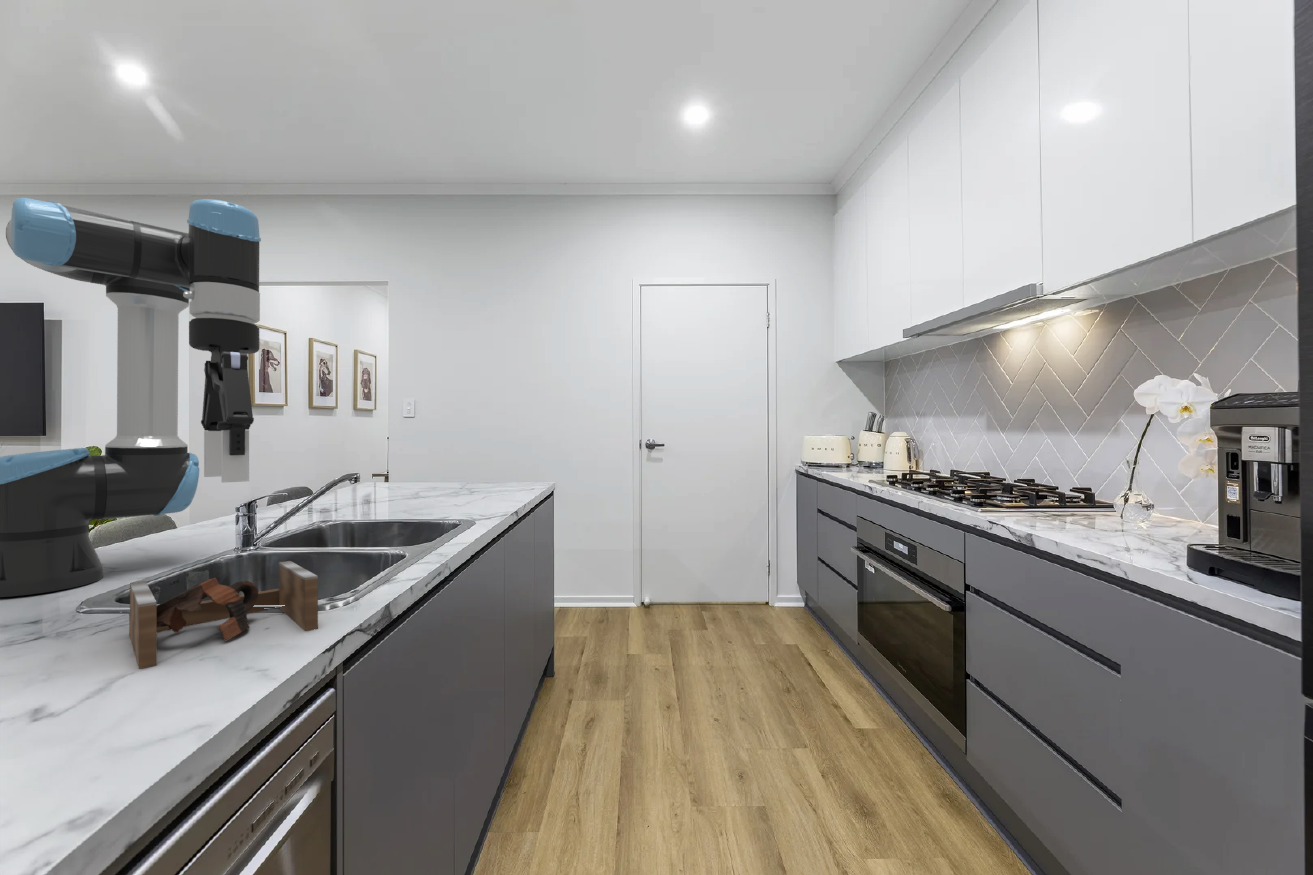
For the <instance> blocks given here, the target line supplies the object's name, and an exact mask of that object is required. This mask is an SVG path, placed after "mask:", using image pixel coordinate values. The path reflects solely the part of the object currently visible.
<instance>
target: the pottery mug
mask: <svg viewBox="0 0 1313 875" xmlns="http://www.w3.org/2000/svg"><path fill="white" fill-rule="evenodd" d="M240 592H241V593H242V594H244V600H243V601H242V600H241V597H240V596H239V595H240ZM258 592H259V591H258V588H257V586H256V585H255V583H253V582H252V581H249V580H241V581H237V582H235V583H233V584H231V585H224V584H220V582H219V581H218V580H217V578H216V577H213V578H210V579H207V580H205V581H203V582H201V583H199V584H198V585H195V586H192V587H191V588H189V589H186V590H184V591H183V592H180V593H179V594H177V595H174V596H173V597H171V598H168V599H167V600H164V601H163V602H161V603H159V604H157V627H165V626H168V627H169V629H171V630H170V631H172V632H174V633H178V632H180V631H181V630H182V629H183V628H185V627H184V626H185V625H186V620H185V619H184V618H183V616H182V611H189V612H196V611H200V610H202V608H201V606H200V603H201V601H202V600H204V599H205V598H207V597H209V598H210V600H212V601H213V602H216V603H217V604H218V605H225V606H226V608H227V609H228V611H229V615H230V618H228V619H227V620H226V621H224V622H223V623H221V624H219V625H218V626H217V628H218V630H219V631H220V632H221V633H222V634H221V635H222V638H223V640H224V641H228V640H230V639H233V638H235V637H236V636H238V635H239V634H241V633H242V632H245V631H246V630H249V629H250V625H249V622H248V614H247V612H248V611H249V610H250V609H251V608H252V607H253V606H254V604H255V603H256V600H257V597H258Z"/></svg>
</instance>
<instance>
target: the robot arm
mask: <svg viewBox="0 0 1313 875" xmlns="http://www.w3.org/2000/svg"><path fill="white" fill-rule="evenodd" d="M10 218H11V219H9V221H8V222H7V225H6V227H5V238H6V242H7V245H8V247H9V248H10V249H11V251H12V252H13V254H14V255H15V256H16V257H18V258H19V259H21V260H22V261H24V262H25V263H26V264H29V265H30V266H33V267H34V268H37V269H40V270H43V271H45V272H48V273H50V274H54V275H57V276H60V277H62V278H66V279H67V278H68V279H71V280H74V281H80V282H84V283H91V284H97V285H100V286H101V285H102V286H105V297H107V299H108V300H110V301H111V302H112V303H113V304H114V305H115V306H116V308H117V340H116V342H117V344H116V345H117V346H116V347H117V348H116V349H117V353H116V354H117V357H116V358H117V359H116V360H117V361H116V364H117V367H116V370H117V371H116V372H117V376H116V379H117V380H116V436H115V437H114V438H112V439H111V440H110V441H109V442H107V443H106V444H105V446H104V454H103V455H102V454H101V455H91V452H90V451H89V449H88V448H86V447H79V448H77V447H75V448H67V449H55V450H46V451H34V452H28V453H16V454H10V455H3V456H2V455H1V456H0V598H9V597H18V596H19V597H20V596H27V595H36V594H43V593H50V592H56V591H63V590H68V589H72V588H76V587H81V586H86V585H89V584H92V583H95V582H98V581H100V580H102V579H103V576H104V575H103V573H104V572H103V571H104V570H103V563H102V562H101V559H100V558H99V555H98V553H97V551H96V549H95V546H94V545H93V543H92V540H91V539H90V536H89V535H90V534H89V533H90V532H89V530H90V529H89V523H90V521H98V520H109V519H110V520H111V519H121V518H132V517H144V516H154V517H158V516H161V515H165V514H166V515H167V514H175V513H181V512H183V511H185V510H186V509H188V508H189V506H190V505H191V504H192V502H193V500H194V498H195V495H196V492H197V490H198V484H199V478H200V467H199V466H200V464H199V463H200V461H199V457H198V456H197V455H196V454H194V453H191V452H188V448H189V447H188V443H186V442H185V441H183V440H182V439H181V438H180V437H179V436H178V434H179V433H178V430H179V428H178V427H179V426H178V424H179V423H178V422H179V420H178V417H179V320H180V319H179V318H180V317H179V316H180V313H181V312H183V311H184V310H185V309H187V308H189V314H190V315H191V316H192V317H194V318H192V319H191V320H189V321H188V344H189V346H190V348H192V349H195V350H199V351H203V352H204V351H205V352H210V354H211V355H210V356H211V357H210V360H205V362H204V369H203V371H204V376H205V377H204V390H203V403H202V416H201V421H200V424H201V425H202V427H203V429H204V431H203V477H204V478H210V477H211V478H214V477H221V483H236V482H237V483H239V482H243V483H244V482H250V429H251V425H253V423H254V422H255V421H254V420H255V418H254V416H253V408H252V407H253V406H252V398H251V396H252V395H251V390H250V388H251V387H250V381H249V379H250V378H249V371H248V360H249V355H248V354H256V353H258V352H259V351H260V328H259V327H258V326H257V323H259V322H260V320H261V319H260V318H261V317H260V316H261V312H260V310H261V307H260V306H261V293H260V242H261V241H262V239H261V237H260V227H259V226H260V225H259V219H258V217H257V215H256V214H255V213H254V212H253V211H251V210H250V209H248V208H247V207H245V206H242V205H240V204H237V203H233V202H229V201H225V200H220V199H210V198H209V199H208V198H205V199H202V198H201V199H196V200H193V202H191V203H190V206H189V212H188V219H186V221H187V222H186V223H187V224H188V232H183V231H179V230H176V229H169V228H166V227H161V226H156V225H151V224H148V223H142V222H138V221H134V220H128V219H124V218H120V217H116V216H111V215H106V214H103V213H98V212H93V211H89V210H86V209H81V208H77V207H71V206H68V205H62V204H61V203H59V202H54V201H49V200H45V201H44V200H39V199H33V198H29V197H18V198H16V199H14V201H13V202H12V208H11V217H10Z"/></svg>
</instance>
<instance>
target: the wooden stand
mask: <svg viewBox="0 0 1313 875" xmlns="http://www.w3.org/2000/svg"><path fill="white" fill-rule="evenodd" d="M318 587H319V576H318V575H317V574H315V573H313V572H311V571H310V570H308V569H307V568H304V567H302V566H300V565H298V564H297V563H295V562H293V561H292V560H288V561H279V562H278V588H273V589H268V590H263V591H262V590H261V591H258V597H257V600H256V603H255V604H254V605H285V606H282V607H279V609H280V608H281V609H280V610H281V611H282V612H283V613H284V614H285V615H286V616H288V617H289V618H290V620H292V621H293V622H294V623H295V624H296V625H297V626H298V627H300V629H302V630H303V631H304V632H305V633H306V632H310V631H313V630H314V629H315V630H318V629H319V617H318V616H319V588H318ZM239 596H240V597H241V600H242V601H243V600H244V593H242V594H239ZM157 605H158V604H157V600H156V599H155V596H154V594H153V592H152V590H151V589H150V587H149V585H148V583H147V581H146V580H143V581H136V582H134V581H133V582H130V583H129V613H128V616H129V617H128V620H129V621H128V622H129V624H128V625H129V626H128V627H129V628H128V629H129V630H128V631H129V637H130V639H129V640H130V644H131V646H133V647H132V650H133V654H134V657H135V661H136V664H137V667H138V670H140V669H141V670H142V669H145V668H150V667H155V666H157V662H158V660H157V659H158V657H157V654H158V650H157V646H158V645H157V639H158V638H157V633H161V632H167V631H172V630H171V629H169V627H168V626H165V627H157ZM200 606H201V608H202V610H200V611H196V612H189V611H182V616H183V618H184V619H185V620H186V625H185V626H184V627H183V628H186V627H190V625H191V626H195V625H200V624H205V623H209V622H214V621H219V620H225V619H230V615H229V611H228V609H227V608H226V606H225V605H218V604H217V603H216V602H213V601H212V599H208V600H207V599H206V600H203V601H202V600H201V603H200ZM264 608H274V609H276V608H275V607H252V608H251V609H250V610H249V611H248V612H247V615H249V614H254V613H255V614H256V613H258V612H259V613H260V612H264V611H265V612H266V611H269V610H268V609H264Z"/></svg>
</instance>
